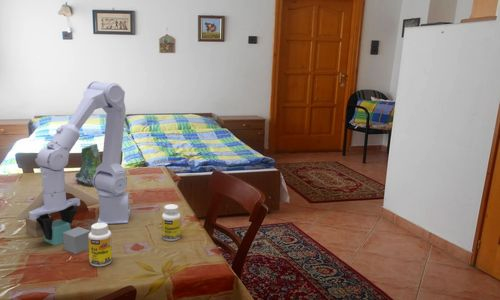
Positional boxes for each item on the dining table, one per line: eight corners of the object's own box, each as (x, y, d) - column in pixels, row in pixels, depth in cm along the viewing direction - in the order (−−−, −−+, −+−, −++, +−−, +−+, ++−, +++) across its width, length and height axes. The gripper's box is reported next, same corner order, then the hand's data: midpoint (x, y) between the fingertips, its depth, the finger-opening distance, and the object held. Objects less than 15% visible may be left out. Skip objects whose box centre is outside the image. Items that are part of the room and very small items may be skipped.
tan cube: (42, 228, 129) (41, 212, 128) (52, 232, 127) (51, 216, 126) (26, 233, 125) (25, 217, 124) (36, 238, 123) (35, 221, 121)
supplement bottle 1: (88, 268, 106) (86, 230, 104) (91, 258, 112) (89, 221, 109) (111, 266, 108) (109, 229, 105) (113, 256, 113) (111, 220, 111)
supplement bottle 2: (162, 242, 122) (162, 210, 120) (161, 234, 127) (160, 203, 125) (181, 240, 124) (181, 209, 121) (179, 233, 129) (179, 202, 127)
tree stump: (118, 189, 168) (105, 147, 163) (71, 199, 170) (57, 157, 165) (133, 174, 186) (121, 135, 181) (90, 183, 188) (77, 145, 183)
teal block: (60, 235, 125) (59, 219, 124) (71, 239, 122) (70, 223, 121) (44, 241, 121) (43, 224, 119) (55, 245, 118) (54, 228, 117)
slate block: (79, 243, 120) (78, 226, 119) (91, 247, 118) (90, 230, 117) (64, 249, 116) (62, 232, 115) (75, 254, 114) (74, 237, 112)
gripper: (68, 181, 126) (71, 224, 129) (20, 194, 114) (24, 240, 117) (83, 186, 122) (86, 229, 125) (35, 199, 110) (39, 247, 113)
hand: (57, 235), depth 121 cm, fingers closed on teal block, 5 cm apart
